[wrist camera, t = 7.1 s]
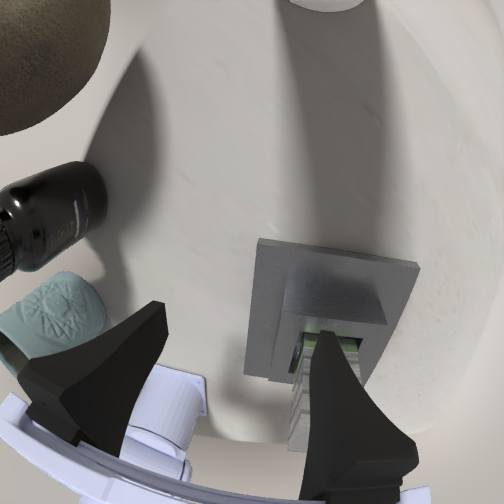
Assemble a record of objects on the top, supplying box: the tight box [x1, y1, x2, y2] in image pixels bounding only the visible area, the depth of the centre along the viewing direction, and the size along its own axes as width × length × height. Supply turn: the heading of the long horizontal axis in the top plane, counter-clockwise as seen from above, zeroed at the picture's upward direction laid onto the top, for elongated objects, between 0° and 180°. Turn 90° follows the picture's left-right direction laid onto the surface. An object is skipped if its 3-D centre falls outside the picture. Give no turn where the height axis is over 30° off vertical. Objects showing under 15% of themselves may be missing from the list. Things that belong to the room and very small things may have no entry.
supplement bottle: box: [0, 161, 107, 282], centre depth 17 cm, size 7×7×12 cm
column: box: [288, 334, 362, 452], centre depth 18 cm, size 4×4×8 cm
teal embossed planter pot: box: [0, 271, 106, 379], centre depth 24 cm, size 10×10×12 cm
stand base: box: [244, 238, 421, 387], centre depth 23 cm, size 15×13×5 cm
